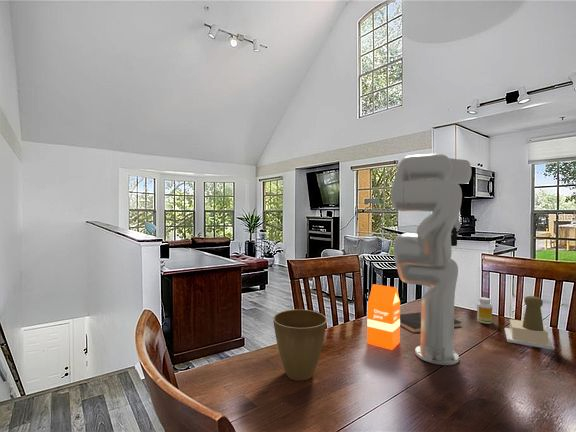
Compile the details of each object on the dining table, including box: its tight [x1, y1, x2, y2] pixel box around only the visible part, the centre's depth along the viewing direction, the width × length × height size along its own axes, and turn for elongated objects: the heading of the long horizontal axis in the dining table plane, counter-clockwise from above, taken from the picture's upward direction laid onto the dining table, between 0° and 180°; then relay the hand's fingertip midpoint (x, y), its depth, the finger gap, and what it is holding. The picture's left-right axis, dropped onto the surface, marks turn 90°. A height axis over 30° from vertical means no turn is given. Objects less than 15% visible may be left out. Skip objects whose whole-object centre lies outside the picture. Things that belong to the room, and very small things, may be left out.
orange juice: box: [366, 283, 401, 351], centre depth 113 cm, size 8×9×20 cm
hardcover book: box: [400, 311, 463, 333], centre depth 135 cm, size 16×23×2 cm
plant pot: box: [272, 309, 328, 382], centre depth 91 cm, size 15×15×16 cm
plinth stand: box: [504, 319, 555, 351], centre depth 118 cm, size 13×13×5 cm
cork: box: [522, 295, 544, 331], centre depth 115 cm, size 6×6×11 cm
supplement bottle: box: [476, 296, 493, 325], centre depth 136 cm, size 5×5×10 cm
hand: (444, 244), depth 124 cm, fingers open, 9 cm apart
